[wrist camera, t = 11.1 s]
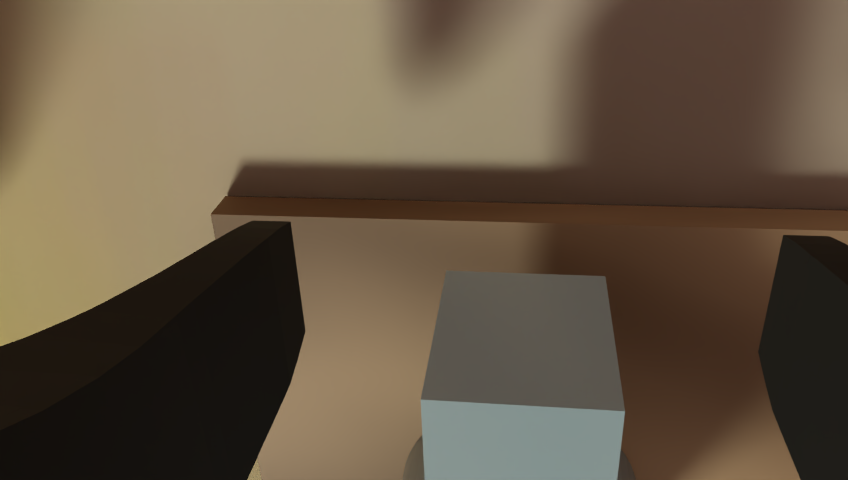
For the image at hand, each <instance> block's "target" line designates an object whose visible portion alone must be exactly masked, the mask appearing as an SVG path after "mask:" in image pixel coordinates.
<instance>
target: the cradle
mask: <svg viewBox="0 0 848 480" xmlns="http://www.w3.org/2000/svg"><path fill="white" fill-rule="evenodd" d="M211 218H212V223H213V229H214V234H215V239H218V238H219V237H221V236H223V235H225V234H226V233H228V232H230V231H232V230H234V229H236V228H237V227H239V226H241V225H243V224H246V223H248V222H250V221H289V222H291V228H292V235H293V243H294V250H295V257H296V265H297V272H298V279H299V287H300V294H301V301H302V309H303V316H304V323H305V335H304V339H303V342H302V346H301V350H300V353H299V357H298V361H297V364H296V367H295V370H294V374H293V377H292V380H291V384H290V386H289V388H288V391H287V393H286V395H285V398H284V400H283V402H282V404H281V406H280V409H279V411H278V413H277V415H276V418H275V420H274V422H273V424H272V427H271V429H270V431H269V433H268V435H267V437H266V440H265V442H264V444H263V446H262V448H261V450H260V453H259V455H258V457H257V458H258V463H259V468H260V473H261V478H262V480H402V479H403V474H404V469H405V464H406V461H407V458H408V456H409V453H410V451H411V450H412V448H413V446H414V445H415V443H416V442H417V441H418V439H419V438H420V437H421V436H422V418H421V395H422V390H423V385H424V380H425V375H426V370H427V365H428V360H429V355H430V350H431V345H432V340H433V335H434V330H435V325H436V320H437V315H438V310H439V305H440V300H441V294H442V289H443V284H444V279H445V274H446V271H472V272H500V273H529V274H557V275H586V276H605V277H606V284H607V291H608V298H609V305H610V312H611V318H612V325H613V332H614V339H615V346H616V353H617V359H618V366H619V373H620V380H621V387H622V394H623V400H624V407H625V416H624V425H623V434H622V442H621V450H622V451H623V452H624V454H625V455H626V457H627V459H628V460H629V462H630V464H631V466H632V469H633V471H634V474H635V477H636V480H801V479H800V477H799V474H798V472H797V470H796V467H795V465H794V463H793V460H792V458H791V455H790V453H789V450H788V448H787V446H786V443H785V441H784V438H783V436H782V433H781V431H780V428H779V426H778V424H777V421H776V418H775V416H774V413H773V411H772V407H771V403H770V399H769V396H768V392H767V388H766V384H765V380H764V376H763V371H762V367H761V363H760V358H759V354H758V350H759V345H760V340H761V336H762V331H763V326H764V322H765V317H766V312H767V308H768V303H769V298H770V294H771V289H772V284H773V280H774V275H775V270H776V266H777V261H778V256H779V252H780V247H781V242H782V238H783V235H806V236H830V237H832V238H834V239H837V240H839V241H841V242H843V243H845V244H847V245H848V211H846V210H802V209H758V208H715V207H671V206H628V205H584V204H540V203H497V202H453V201H409V200H366V199H322V198H279V197H235V196H225V197H224V199H223V200H222V201H221V202H220V204H219V205H218V206H217V207H216V209H215V210H214V211H213V212H212V213H211Z"/></svg>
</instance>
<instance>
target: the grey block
mask: <svg viewBox="0 0 848 480" xmlns="http://www.w3.org/2000/svg"><path fill="white" fill-rule="evenodd" d="M624 416H625V407H624V400H623V394H622V387H621V380H620V373H619V366H618V359H617V353H616V346H615V339H614V332H613V325H612V318H611V312H610V305H609V298H608V291H607V284H606V277H605V276H586V275H557V274H529V273H500V272H472V271H446V274H445V279H444V284H443V289H442V294H441V300H440V305H439V310H438V315H437V320H436V325H435V330H434V335H433V340H432V345H431V350H430V355H429V360H428V365H427V370H426V375H425V380H424V385H423V390H422V395H421V418H422V436H421V437H420V438H419V439H418V441H417V442H416V443H415V445H414V446H413V448H412V450H411V451H410V453H409V456H408V458H407V461H406V464H405V469H404V474H403V479H402V480H636V477H635V474H634V471H633V469H632V466H631V464H630V462H629V460H628V459H627V457H626V455H625V454H624V452H623V451H622V450H621V442H622V434H623V425H624Z"/></svg>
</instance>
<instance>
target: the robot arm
mask: <svg viewBox="0 0 848 480" xmlns="http://www.w3.org/2000/svg"><path fill="white" fill-rule="evenodd" d="M304 335H305V323H304V316H303V309H302V301H301V294H300V287H299V279H298V272H297V265H296V257H295V250H294V243H293V235H292V228H291V222H289V221H250V222H248V223H246V224H243V225H241V226H239V227H237V228H236V229H234V230H232V231H230V232H228V233H226V234H225V235H223V236H221V237H219V238H218V239H216V240H214V241H213V242H211V243H209V244H208V245H206V246H204V247H202V248H201V249H199V250H197V251H196V252H194V253H192V254H191V255H189V256H187V257H185V258H184V259H182V260H180V261H179V262H177V263H175V264H174V265H172V266H170V267H168V268H167V269H165V270H163V271H162V272H160V273H158V274H156V275H155V276H153V277H151V278H149V279H147V280H145V281H143V282H141V283H140V284H138V285H136V286H134V287H132V288H130V289H128V290H126V291H125V292H123V293H121V294H119V295H117V296H115V297H113V298H112V299H110V300H108V301H106V302H104V303H102V304H100V305H98V306H96V307H94V308H92V309H90V310H88V311H86V312H83V313H81V314H79V315H77V316H75V317H73V318H71V319H68V320H66V321H64V322H61V323H59V324H57V325H54V326H52V327H50V328H47V329H45V330H42V331H40V332H38V333H35V334H33V335H30V336H28V337H25V338H23V339H20V340H17V341H15V342H12V343H9V344H6V345H3V346H0V480H247V479H248V476H249V474H250V472H251V470H252V468H253V466H254V463H255V461H256V459H257V457H258V455H259V453H260V450H261V448H262V446H263V444H264V442H265V440H266V437H267V435H268V433H269V431H270V429H271V427H272V424H273V422H274V420H275V418H276V415H277V413H278V411H279V409H280V406H281V404H282V402H283V400H284V398H285V395H286V393H287V391H288V388H289V386H290V384H291V380H292V377H293V374H294V370H295V367H296V364H297V361H298V357H299V353H300V350H301V346H302V342H303V339H304ZM758 354H759V358H760V363H761V367H762V371H763V376H764V380H765V384H766V388H767V392H768V396H769V399H770V403H771V407H772V411H773V413H774V416H775V418H776V421H777V424H778V426H779V428H780V431H781V433H782V436H783V438H784V441H785V443H786V446H787V448H788V450H789V453H790V455H791V458H792V460H793V463H794V465H795V467H796V470H797V472H798V474H799V477H800V479H801V480H848V245H847V244H845V243H843V242H841V241H839V240H837V239H834V238H832V237H830V236H806V235H783V238H782V242H781V247H780V252H779V256H778V261H777V266H776V270H775V275H774V280H773V284H772V289H771V294H770V298H769V303H768V308H767V312H766V317H765V322H764V326H763V331H762V336H761V340H760V345H759V350H758Z"/></svg>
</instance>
